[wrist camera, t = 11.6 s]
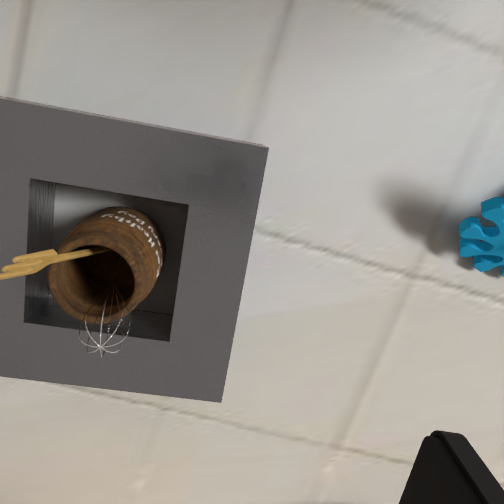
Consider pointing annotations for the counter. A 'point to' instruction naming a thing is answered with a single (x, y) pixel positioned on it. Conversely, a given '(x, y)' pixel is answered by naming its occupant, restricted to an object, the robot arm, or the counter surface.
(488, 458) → the counter surface
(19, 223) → the hollow square block
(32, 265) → the utensil holder
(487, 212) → the gear
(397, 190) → the counter surface
